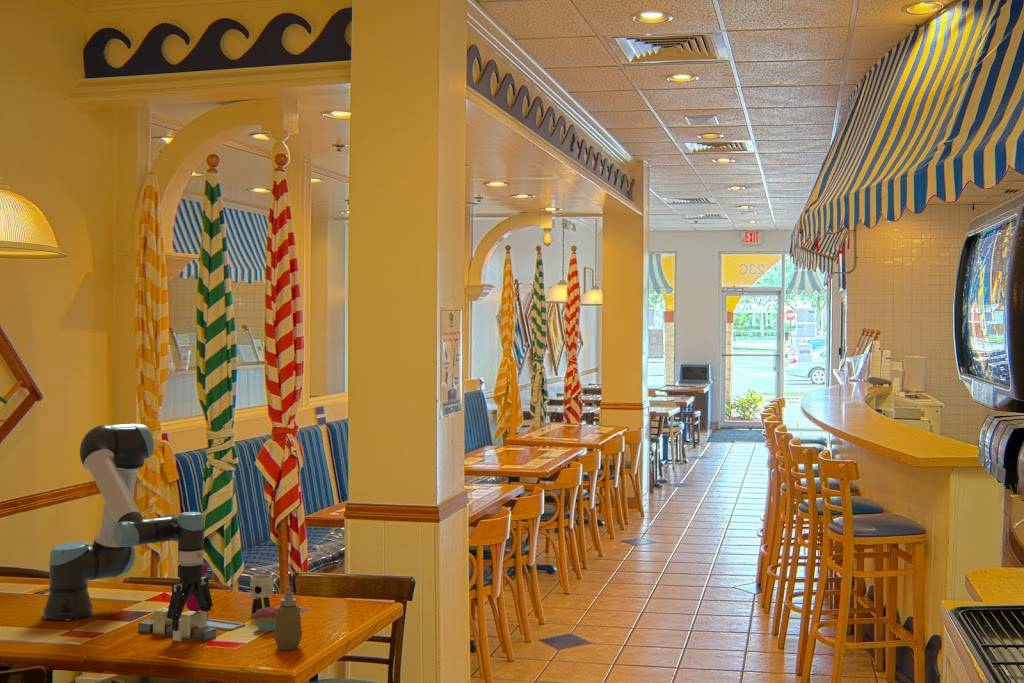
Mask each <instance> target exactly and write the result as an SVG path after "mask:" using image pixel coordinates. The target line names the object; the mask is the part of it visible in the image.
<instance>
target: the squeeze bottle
mask: <svg viewBox="0 0 1024 683" xmlns="http://www.w3.org/2000/svg"><path fill="white" fill-rule="evenodd" d="M279 601H280V606H278V607H277V608H276V609H277V614H276V623H275V630H274V632H273V634H274V635H273V637H274V641H275V643H276V647H277V649H278V650H280V651H292V650H296V649H298V648H299V645H300V643H301V640H302V637H303V634H302V633H303V631H302V622H301V611H300V610H301V609H300V606H298V605H297V598H295V597H294V596H293V593H292V588H291V586H288V585H287V586H285V592H284V596H283V598H281V599H280V600H279Z"/></svg>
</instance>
